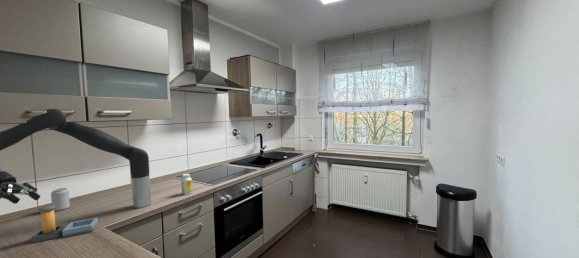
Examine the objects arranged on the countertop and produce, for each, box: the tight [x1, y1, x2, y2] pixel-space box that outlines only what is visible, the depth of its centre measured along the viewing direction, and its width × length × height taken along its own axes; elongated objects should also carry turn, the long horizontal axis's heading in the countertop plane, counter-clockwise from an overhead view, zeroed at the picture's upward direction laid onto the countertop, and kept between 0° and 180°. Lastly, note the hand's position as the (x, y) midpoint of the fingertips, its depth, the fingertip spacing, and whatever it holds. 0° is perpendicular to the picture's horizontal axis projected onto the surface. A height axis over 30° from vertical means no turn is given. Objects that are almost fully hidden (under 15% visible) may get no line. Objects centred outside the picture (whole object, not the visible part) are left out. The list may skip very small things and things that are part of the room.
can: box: [50, 187, 71, 212], centre depth 140 cm, size 8×8×12 cm
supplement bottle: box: [180, 173, 193, 196], centre depth 160 cm, size 7×7×13 cm
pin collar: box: [31, 224, 66, 243], centre depth 105 cm, size 8×8×2 cm
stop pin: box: [38, 204, 57, 234], centre depth 105 cm, size 5×5×13 cm
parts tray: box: [62, 217, 99, 238], centre depth 110 cm, size 10×10×3 cm
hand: (28, 199), depth 98 cm, fingers open, 8 cm apart
